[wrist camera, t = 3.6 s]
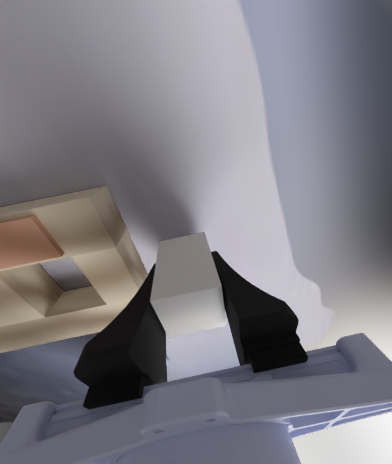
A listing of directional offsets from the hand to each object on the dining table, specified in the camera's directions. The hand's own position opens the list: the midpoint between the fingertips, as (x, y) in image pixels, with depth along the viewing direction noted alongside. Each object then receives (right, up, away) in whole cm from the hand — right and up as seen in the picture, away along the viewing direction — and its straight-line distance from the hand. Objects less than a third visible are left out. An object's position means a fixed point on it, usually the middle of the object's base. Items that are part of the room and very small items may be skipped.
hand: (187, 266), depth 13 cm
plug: (0, +1, +1) cm, 2 cm away
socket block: (-18, -2, +3) cm, 18 cm away
